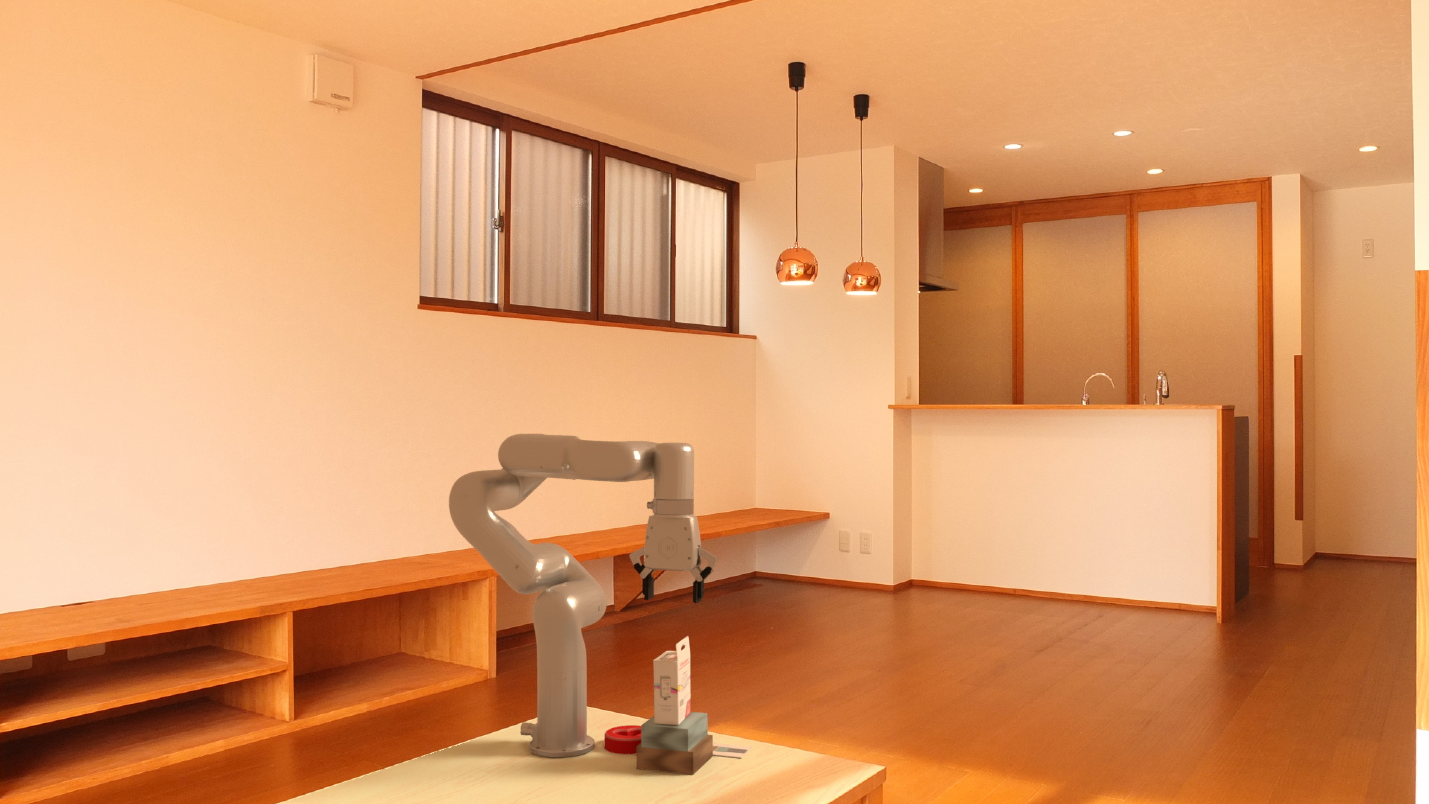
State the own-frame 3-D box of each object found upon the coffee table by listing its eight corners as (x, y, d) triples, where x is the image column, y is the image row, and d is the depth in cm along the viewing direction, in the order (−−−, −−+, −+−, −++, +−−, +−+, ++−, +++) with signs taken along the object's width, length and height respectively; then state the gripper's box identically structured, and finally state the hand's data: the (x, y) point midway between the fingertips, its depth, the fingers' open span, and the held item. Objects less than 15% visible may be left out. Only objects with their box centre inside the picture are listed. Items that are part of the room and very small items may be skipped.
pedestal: (636, 768, 189) (636, 724, 189) (658, 751, 199) (658, 709, 199) (693, 774, 185) (693, 729, 186) (712, 756, 196) (712, 713, 196)
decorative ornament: (623, 759, 195) (623, 742, 195) (594, 747, 203) (594, 731, 203) (663, 748, 202) (663, 732, 202) (634, 737, 209) (634, 721, 209)
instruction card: (691, 753, 198) (691, 752, 198) (703, 742, 204) (703, 741, 204) (741, 758, 194) (741, 756, 194) (751, 747, 201) (751, 746, 201)
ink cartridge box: (666, 711, 197) (665, 634, 198) (691, 713, 196) (691, 635, 197) (652, 724, 189) (652, 643, 189) (678, 726, 188) (678, 644, 188)
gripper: (623, 508, 193) (622, 601, 192) (711, 511, 187) (710, 606, 187) (638, 505, 200) (637, 594, 199) (723, 508, 194) (723, 600, 194)
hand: (673, 600), depth 193 cm, fingers open, 9 cm apart
